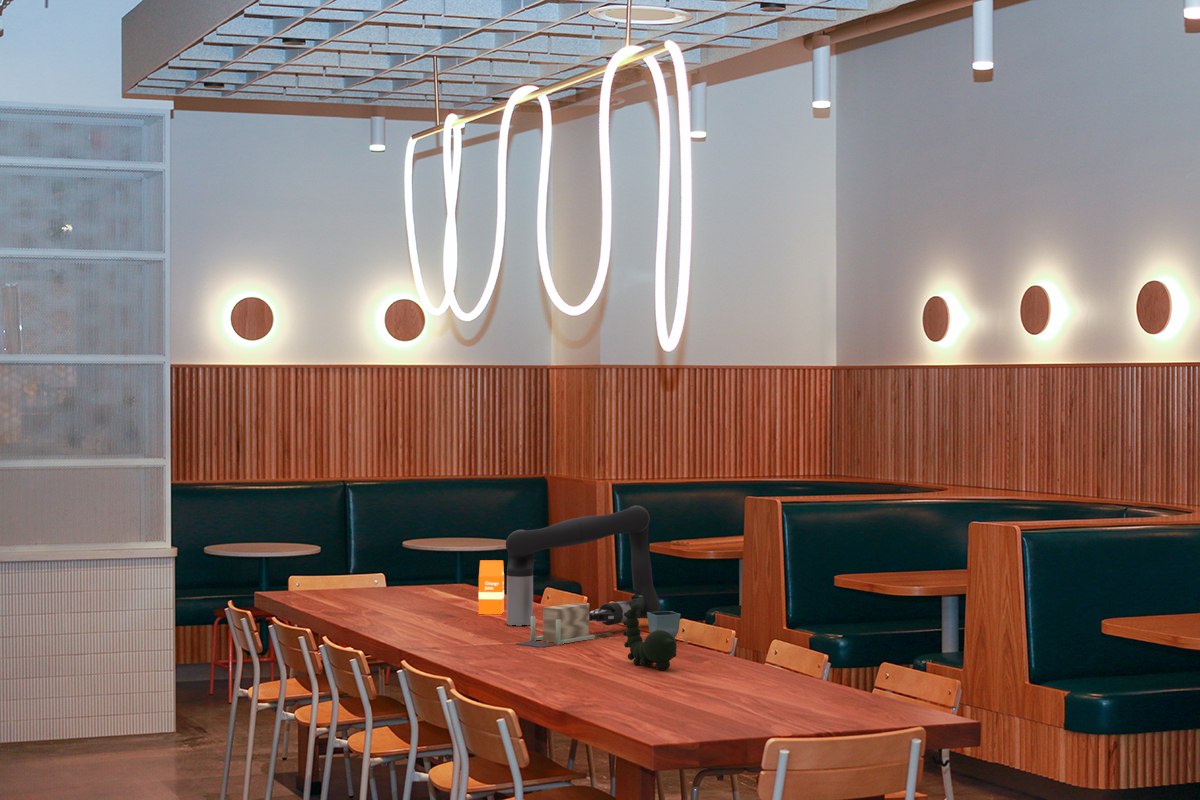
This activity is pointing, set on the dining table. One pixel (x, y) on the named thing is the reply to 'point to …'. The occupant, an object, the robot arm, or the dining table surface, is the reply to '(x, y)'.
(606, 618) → the robot arm
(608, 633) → the lane
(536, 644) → the pit mat
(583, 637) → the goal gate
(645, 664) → the toy figurine
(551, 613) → the beech block
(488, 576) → the orange juice
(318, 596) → the dining table surface
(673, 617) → the flower pot
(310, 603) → the dining table surface
